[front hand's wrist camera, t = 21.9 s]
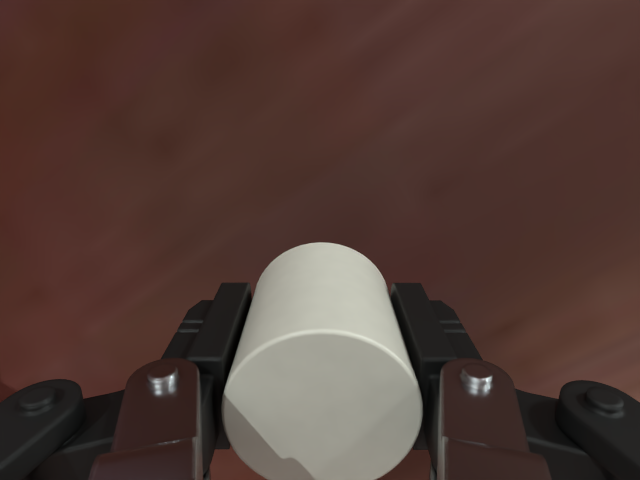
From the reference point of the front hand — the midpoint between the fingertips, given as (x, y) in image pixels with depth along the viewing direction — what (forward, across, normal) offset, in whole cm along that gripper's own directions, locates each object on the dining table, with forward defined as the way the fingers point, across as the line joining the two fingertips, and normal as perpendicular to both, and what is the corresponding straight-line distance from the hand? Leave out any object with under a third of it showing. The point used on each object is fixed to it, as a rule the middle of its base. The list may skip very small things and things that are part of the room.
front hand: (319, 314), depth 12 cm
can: (+1, 0, 0) cm, 1 cm away
